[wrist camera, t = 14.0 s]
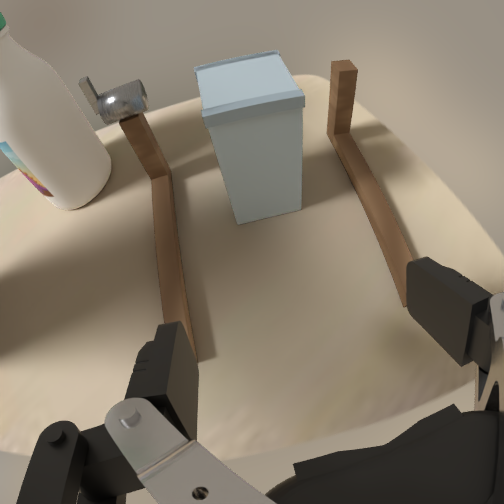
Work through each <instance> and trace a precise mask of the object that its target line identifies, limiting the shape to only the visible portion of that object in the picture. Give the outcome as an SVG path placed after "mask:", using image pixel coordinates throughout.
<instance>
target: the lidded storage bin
mask: <svg viewBox="0 0 504 504" xmlns="http://www.w3.org/2000/svg"><path fill="white" fill-rule="evenodd" d="M194 71H195V75H196V79H197V82H198V84H199V90H200V96H201V101H202V107H203V110H201V112H202V118H203V121H204V124H205V127H206V128H208V130H209V133H210V137H211V140H212V143H213V146H214V150H215V153H216V156H217V160H218V163H219V166H220V169H221V173H222V176H223V179H224V182H225V186H226V189H227V192H228V196H229V199H230V202H231V205H232V209H233V212H234V215H235V218H236V222H237V225H240V224H244V223H248V222H252V221H256V220H260V219H264V218H269V217H273V216H277V215H281V214H285V213H290V212H294V211H298V210H301V202H302V132H303V120H302V108H303V107H305V95H304V93H303V91H302V90H301V89H299V88H298V86H297V85H296V83H295V81H294V79H293V78H292V76H291V75H290V73H289V71H288V69H287V68H286V66H285V64H284V63H283V61H282V59H281V58H280V53H279V52H278V50H274V51H268V52H261V53H256V54H251V55H246V56H240V57H236V58H231V59H226V60H222V61H218V62H213V63H209V64H205V65H202V66H198V67H194Z"/></svg>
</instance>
